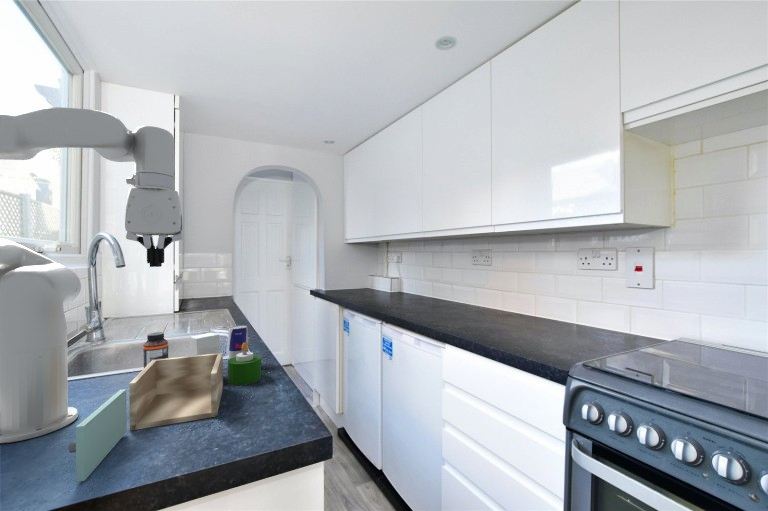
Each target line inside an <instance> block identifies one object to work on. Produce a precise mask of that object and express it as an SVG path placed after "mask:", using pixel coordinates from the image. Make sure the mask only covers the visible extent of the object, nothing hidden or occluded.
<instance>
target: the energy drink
mask: <svg viewBox="0 0 768 511" xmlns="http://www.w3.org/2000/svg"><path fill="white" fill-rule="evenodd" d="M248 328H249V327H248V326H247V325H243V324H242V325H241V324H239V325H233V326H229V328H228V332H227V333H228V339H227V340H228V360H229V359H231V358H233V357H236V355H237V354H239V353H242V344H243V343H246V344H247V352H249V333H248V332H249V329H248Z"/></svg>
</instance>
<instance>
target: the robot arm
mask: <svg viewBox="0 0 768 511" xmlns="http://www.w3.org/2000/svg"><path fill="white" fill-rule="evenodd" d="M58 148H59V149H60V148H61V149H63V148H66V149H67V148H68V149H69V148H75V149H77V148H79V149H93V150H94V151H95V152H96V153H98V154H99V155H100V156H101V157H103V158H105V160H109V161H110V162H114V163H115V162H116V163H117V162H118V163H132V162H133V164H134V168H133V169H134V171H133V173H134V174H132V177H126V181H125V182H126V185H130V186H131V185H132V186H133V187H131V188H129V189H128V194H127V200H126V205H125V215H124V216H125V217H124V229H125V232H126V235H125V239H126V240H129V241H132V242H133V241H135V242H138V243H140V244H141V245H142V246H143V247H144V248H145V249H146V263H147V264H149V268H157V267H158V268H160V267H162V264H165V249H166V248H167V247H168V246H169V245H171V244H172V243H175V242H179V241H182V240H184V235H183V216H182V207H181V201H180V195H179V192H178V191H177V190H175V189H176V180H175V179H176V178H175V177H176V176H175V175H176V171H175V170H176V169H175V165H176V162H175V160H176V159H175V154H176V152H175V151H176V150H175V137H174V135H173V134H172V133H171V132H170V131H168V130H167V129H164V128H162V127H158V126H151V125H142V126H138V127H136V129H135V130H134V131H132V130H130V129H128V128H127V126H126V124H124V123H123V122H122V121H121V119H119V118H118V117H117V116H115V115H113V114H111V113H109V112H107V111H106V112H105V111H102V110H97V109H88V108H73V107H57V106H56V107H53V106H52V107H51V106H50V107H42V108H41V107H40V108H35V109H30V110H26V111H22V112H18V113H5V112H4V113H3V112H0V160H5V161H7V160H9V161H10V160H11V161H12V160H13V161H28V160H31V159H33V158H35V157H36V156H37V155H38V153H40V152H43V151H46V150H50V149H58ZM154 236H158V238H157V239H158V240H157V244H156V245H155V244H154V242H155V241H154ZM80 279H81V278H80V277H79V275H77V273H76V272H74V271H73V270H72V269H70V268H68V267H67V266H65V265H63V264H61V263H59V262H57V261H55V260H52V259H51V258H48V257H47V256H45V255H42V254H40V253H38V252H36V251H34V250H32V249H30V248H28V247H26V246H24V245H22V244H19V243H17V242H15V241H13V240H9V239H6V238H2V237H0V444H5V443H6V444H8V443H9V444H10V443H14V442H20V441H21V442H22V441H25V440H30V439H33V438H39V437H41V436H44V435H47V434H50V433H53V432H55V431H57V430H60V429H62V428H64V427H66V426H68V425H70V424H72V423H73V422H74V421H76V420H77V418H78V417H79V410H78V409H77V408H76V407H73V406H69V402H68V401H69V400H68V399H69V394H68V393H69V388H68V387H69V386H68V385H69V384H68V383H69V382H68V381H69V380H68V377H69V376H68V374H69V373H68V372H69V371H68V327H67V326H68V325H67V320H66V315H65V310H64V306H67V305H68V304H70V303H71V302H73V301H74V300H76V299H77V297H78V296H79V295H80V292H81V289H82V283H81V280H80Z"/></svg>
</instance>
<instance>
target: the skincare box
mask: <svg viewBox="0 0 768 511" xmlns="http://www.w3.org/2000/svg"><path fill="white" fill-rule="evenodd" d="M189 347H190V348H189V354H190V355H189V356H197V355H206V354H216V353H221V351H220V334H219V333H215V332H207V333H203V334H198V335H192V336H189Z"/></svg>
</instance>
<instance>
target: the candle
mask: <svg viewBox="0 0 768 511" xmlns="http://www.w3.org/2000/svg"><path fill="white" fill-rule="evenodd" d="M261 379H262V357H261V355H258V354H254V352H251V351H250V352H249V351H248V352H247V344H246V343H243V344H242V353H239V354H237V355H236V357H233V358H231V359H229V358H228V360H227V383H228V384H229V385H232V386H244V385H250V384H254V383H256V382H259V381H260V380H261Z"/></svg>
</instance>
